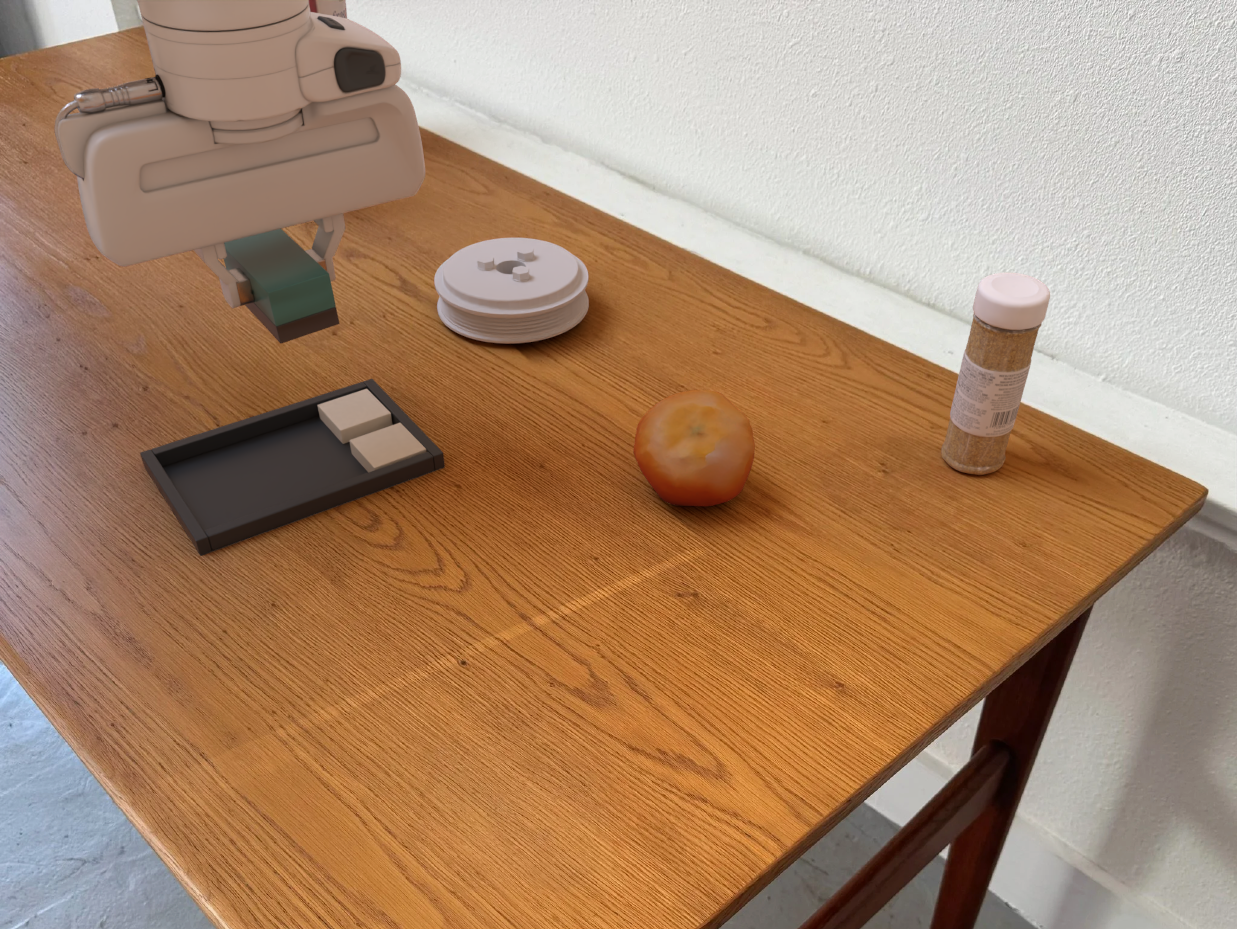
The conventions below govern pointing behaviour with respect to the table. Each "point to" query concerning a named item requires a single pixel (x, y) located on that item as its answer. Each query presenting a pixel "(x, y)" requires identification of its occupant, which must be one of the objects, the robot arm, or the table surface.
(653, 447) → the fruit
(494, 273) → the lid
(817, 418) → the table surface
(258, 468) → the tray
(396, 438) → the chip
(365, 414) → the chip
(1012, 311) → the sprinkles bottle
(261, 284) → the eraser
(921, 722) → the table surface
